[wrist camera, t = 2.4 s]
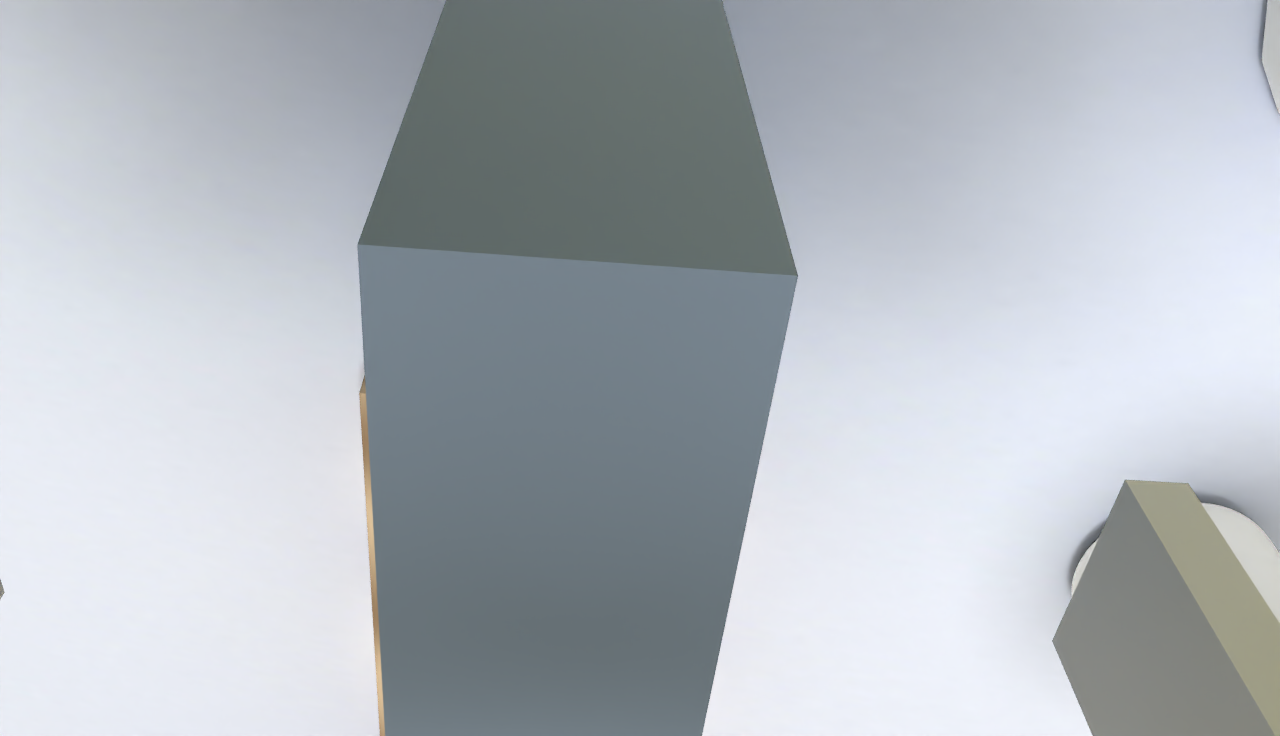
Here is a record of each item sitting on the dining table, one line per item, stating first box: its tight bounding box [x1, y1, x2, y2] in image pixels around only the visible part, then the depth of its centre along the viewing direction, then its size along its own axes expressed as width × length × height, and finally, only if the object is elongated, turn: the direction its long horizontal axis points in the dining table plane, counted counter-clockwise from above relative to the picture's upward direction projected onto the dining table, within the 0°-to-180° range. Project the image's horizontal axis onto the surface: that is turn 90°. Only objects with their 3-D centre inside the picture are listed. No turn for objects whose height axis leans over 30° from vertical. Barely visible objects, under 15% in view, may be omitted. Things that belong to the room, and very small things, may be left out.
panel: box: [358, 0, 798, 736], centre depth 17 cm, size 10×3×15 cm, turn 174°
